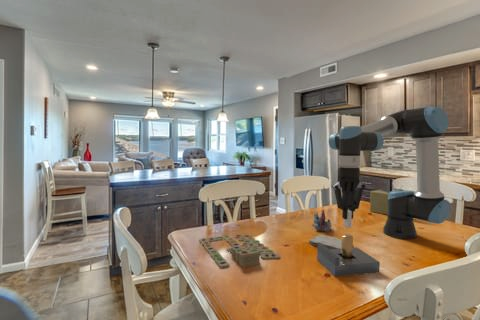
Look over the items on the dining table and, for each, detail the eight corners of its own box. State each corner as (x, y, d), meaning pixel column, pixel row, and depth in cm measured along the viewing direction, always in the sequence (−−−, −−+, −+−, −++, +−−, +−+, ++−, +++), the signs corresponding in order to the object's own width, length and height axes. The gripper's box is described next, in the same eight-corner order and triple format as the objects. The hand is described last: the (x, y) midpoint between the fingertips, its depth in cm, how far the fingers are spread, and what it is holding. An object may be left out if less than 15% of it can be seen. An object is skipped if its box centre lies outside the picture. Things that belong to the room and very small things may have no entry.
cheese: (409, 218, 170) (410, 195, 169) (399, 219, 166) (400, 196, 165) (378, 210, 190) (379, 189, 189) (369, 211, 186) (369, 190, 185)
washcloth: (318, 238, 135) (318, 232, 135) (354, 247, 123) (354, 241, 123) (307, 245, 126) (307, 238, 126) (344, 256, 114) (344, 249, 114)
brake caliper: (333, 229, 140) (319, 210, 143) (316, 239, 145) (303, 220, 147) (336, 223, 150) (324, 205, 153) (320, 232, 155) (308, 215, 157)
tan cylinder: (348, 263, 106) (349, 234, 106) (354, 267, 102) (355, 237, 102) (339, 263, 106) (339, 234, 105) (344, 268, 102) (345, 238, 101)
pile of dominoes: (283, 259, 111) (283, 247, 110) (222, 273, 100) (222, 258, 99) (247, 233, 142) (247, 223, 142) (198, 241, 131) (198, 230, 131)
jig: (356, 256, 113) (357, 240, 112) (379, 272, 99) (379, 254, 98) (317, 259, 109) (317, 243, 109) (334, 276, 96) (335, 257, 95)
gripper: (338, 167, 97) (337, 231, 98) (370, 167, 99) (368, 229, 100) (328, 166, 104) (327, 224, 106) (358, 165, 106) (356, 223, 108)
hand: (347, 226), depth 103 cm, fingers closed
